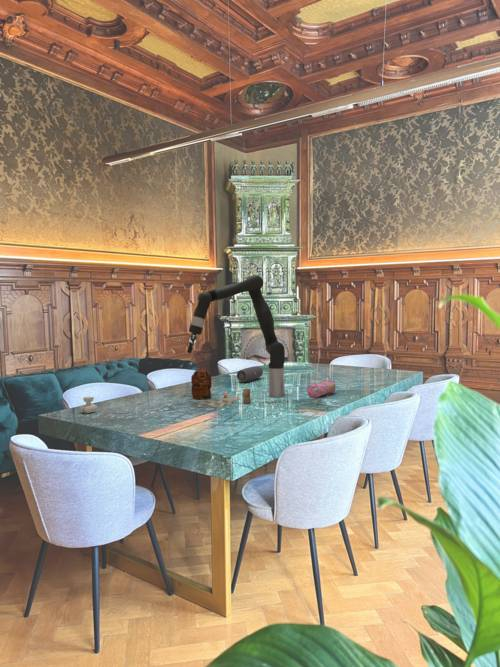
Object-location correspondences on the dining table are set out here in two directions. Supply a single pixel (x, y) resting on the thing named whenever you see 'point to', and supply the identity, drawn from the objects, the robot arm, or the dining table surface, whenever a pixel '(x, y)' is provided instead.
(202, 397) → the wooden figurine
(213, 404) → the board
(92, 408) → the stamp
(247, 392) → the walnut pin
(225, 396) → the key plate
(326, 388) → the pencil case
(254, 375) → the bluetooth speaker
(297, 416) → the dining table surface
